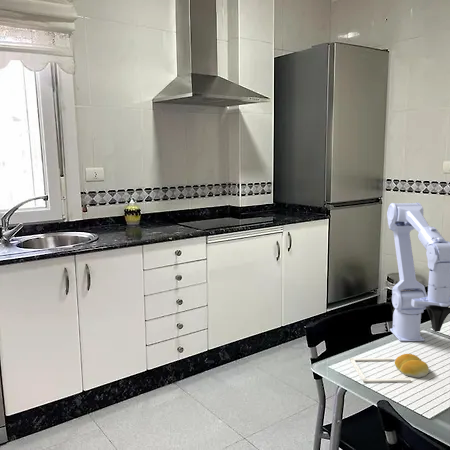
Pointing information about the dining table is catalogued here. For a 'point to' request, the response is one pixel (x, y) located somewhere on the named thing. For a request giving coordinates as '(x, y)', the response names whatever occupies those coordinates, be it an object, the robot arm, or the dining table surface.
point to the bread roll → (411, 365)
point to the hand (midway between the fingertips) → (436, 330)
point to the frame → (375, 379)
